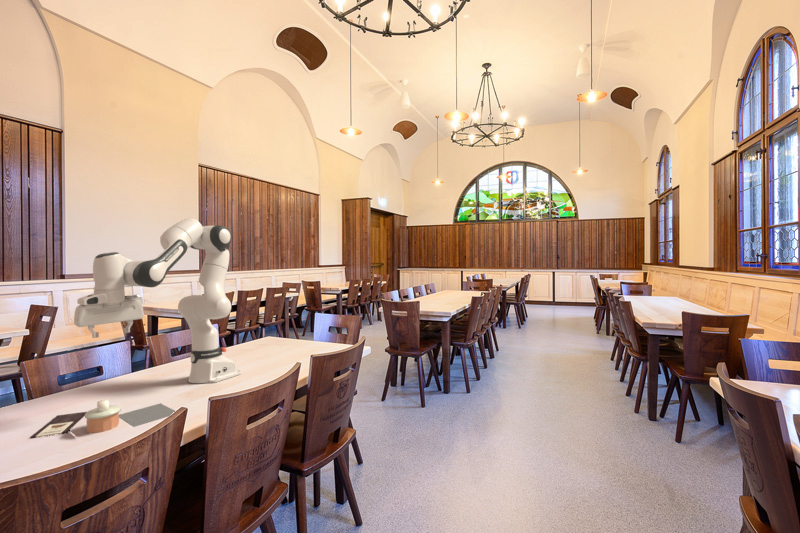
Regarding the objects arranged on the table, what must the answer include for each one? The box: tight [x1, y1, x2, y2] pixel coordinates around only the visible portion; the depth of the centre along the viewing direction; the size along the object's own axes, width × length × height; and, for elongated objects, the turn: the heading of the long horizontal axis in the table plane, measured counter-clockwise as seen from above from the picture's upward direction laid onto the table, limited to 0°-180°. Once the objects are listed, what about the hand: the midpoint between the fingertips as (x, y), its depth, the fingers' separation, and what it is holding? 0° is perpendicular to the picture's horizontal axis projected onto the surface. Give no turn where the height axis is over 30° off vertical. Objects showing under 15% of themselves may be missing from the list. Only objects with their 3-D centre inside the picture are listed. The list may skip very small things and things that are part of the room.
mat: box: [119, 403, 176, 428], centre depth 134 cm, size 14×16×1 cm
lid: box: [84, 399, 122, 420], centre depth 123 cm, size 9×9×4 cm
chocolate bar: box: [30, 411, 87, 439], centre depth 127 cm, size 9×1×18 cm
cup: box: [86, 412, 120, 434], centre depth 123 cm, size 8×8×5 cm
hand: (111, 335), depth 137 cm, fingers open, 8 cm apart
